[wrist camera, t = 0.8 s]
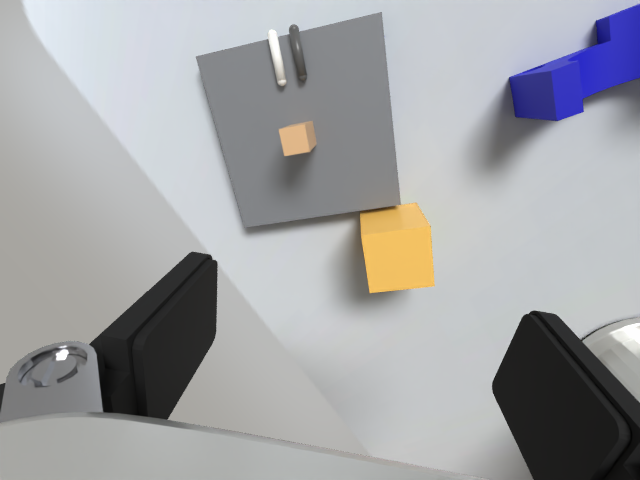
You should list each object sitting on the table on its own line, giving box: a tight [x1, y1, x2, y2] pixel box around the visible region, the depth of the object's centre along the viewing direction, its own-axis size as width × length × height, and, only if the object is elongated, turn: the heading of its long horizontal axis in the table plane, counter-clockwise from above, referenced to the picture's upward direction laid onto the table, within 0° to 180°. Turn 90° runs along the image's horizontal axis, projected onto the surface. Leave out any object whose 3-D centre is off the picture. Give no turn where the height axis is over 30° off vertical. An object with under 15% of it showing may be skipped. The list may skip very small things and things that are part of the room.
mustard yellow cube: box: [360, 203, 435, 293], centre depth 28 cm, size 5×5×6 cm
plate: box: [196, 12, 401, 228], centre depth 25 cm, size 14×14×6 cm
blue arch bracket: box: [509, 4, 640, 121], centre depth 21 cm, size 12×4×6 cm, turn 111°
